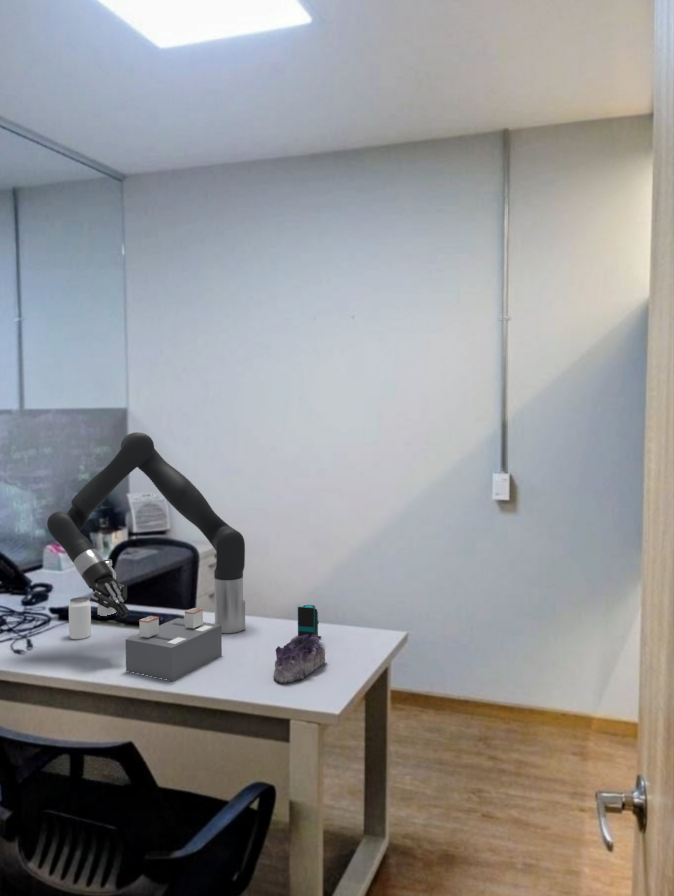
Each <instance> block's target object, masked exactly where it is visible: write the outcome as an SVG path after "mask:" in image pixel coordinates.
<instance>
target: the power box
mask: <svg viewBox="0 0 674 896" xmlns="http://www.w3.org/2000/svg"><path fill="white" fill-rule="evenodd" d="M222 635H223V633H221V625H218V624H215V623H211V622H205V621H203V624H202V625H200V626H198V627H196V628H188V627H185V618H180V617H177V618H174V619H171V620H169V621H167V622H164V623H162V624H159V633H158V634H156V635H153V636H151V637H148V638H147V637H142V636H140V633H137V634H134V635H132V636H130V637H127V638H125V672H126V671H129V672H128V673H130V672H134V673H133V674H135V673H139V674H138V675H140V674H144V675H148V676H147V677H149V676H152V677H151V678H154V677H156V678H155V679H159V678H162V679H161V680H163V679H167V680H166V681H168V680H171V681H170V682H174V681H176V680H178V679H180V678H182V677H183V675H184V676H186V675H187V673H188V674H189V673H191V672H193V671H195V670H197V669H199V668H201V667H202V666H204V665H207V664H208V663H210V662H212V661H214V660H216V659H219V657H222V654H223V653H222V651H223V650H222V649H223V647H222V646H223V645H222V642H223V641H222V639H223V638H222ZM185 674H186V675H185ZM144 675H143V676H144ZM181 676H182V677H181ZM179 677H180V678H179ZM177 678H178V679H177ZM175 679H176V680H175ZM173 680H174V681H173Z"/></svg>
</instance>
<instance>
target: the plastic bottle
mask: <svg viewBox="0 0 674 896" xmlns="http://www.w3.org/2000/svg"><path fill="white" fill-rule="evenodd" d="M104 561H105V562H106V564H107V565H108V566H109V568H110V569H111V571H112V572H113V578H114V579H115V580H117V573H116V571H115V569H114V568H113V567H112V566H113V560H112V559H110V558H109V559H106V558H105V559H104ZM104 602H105V601H104ZM105 603H106V602H105ZM96 611H97V616H98V615H100V616H107V615H111V614H114V613H116V611H115V609H113V608H112V607H109V608H105V607H103V606H102V605H100V604H97V610H96Z"/></svg>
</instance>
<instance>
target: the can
mask: <svg viewBox="0 0 674 896" xmlns="http://www.w3.org/2000/svg"><path fill="white" fill-rule="evenodd" d="M69 601H70V602H69V604H68V633H69V634H68V636H69V639H71V640H76V641H77V640H86V639H87V638H88V639H89V638H90V637H91V636H92V635H91V634H92V617H91V616H92V612H91V610H92V609H91V602H90V598H89V597H86V596H78V597H73V598H71V599H70V600H69Z"/></svg>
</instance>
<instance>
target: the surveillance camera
mask: <svg viewBox="0 0 674 896" xmlns="http://www.w3.org/2000/svg"><path fill="white" fill-rule="evenodd" d="M307 634H309V637H311V635H312V634H314V635H317V636H318V637H319V640H320V639H321V638H322V635H321V636H320V635H319V611H318V609H317V608H316V605H313V604H306V605H302V606H298V607H297V636H299V637H300V636H303V635H307Z"/></svg>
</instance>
